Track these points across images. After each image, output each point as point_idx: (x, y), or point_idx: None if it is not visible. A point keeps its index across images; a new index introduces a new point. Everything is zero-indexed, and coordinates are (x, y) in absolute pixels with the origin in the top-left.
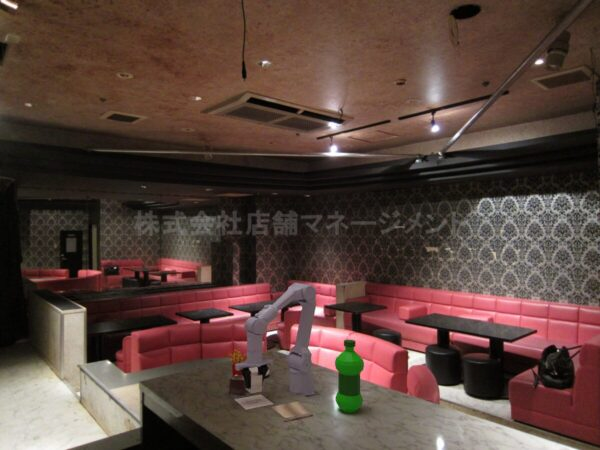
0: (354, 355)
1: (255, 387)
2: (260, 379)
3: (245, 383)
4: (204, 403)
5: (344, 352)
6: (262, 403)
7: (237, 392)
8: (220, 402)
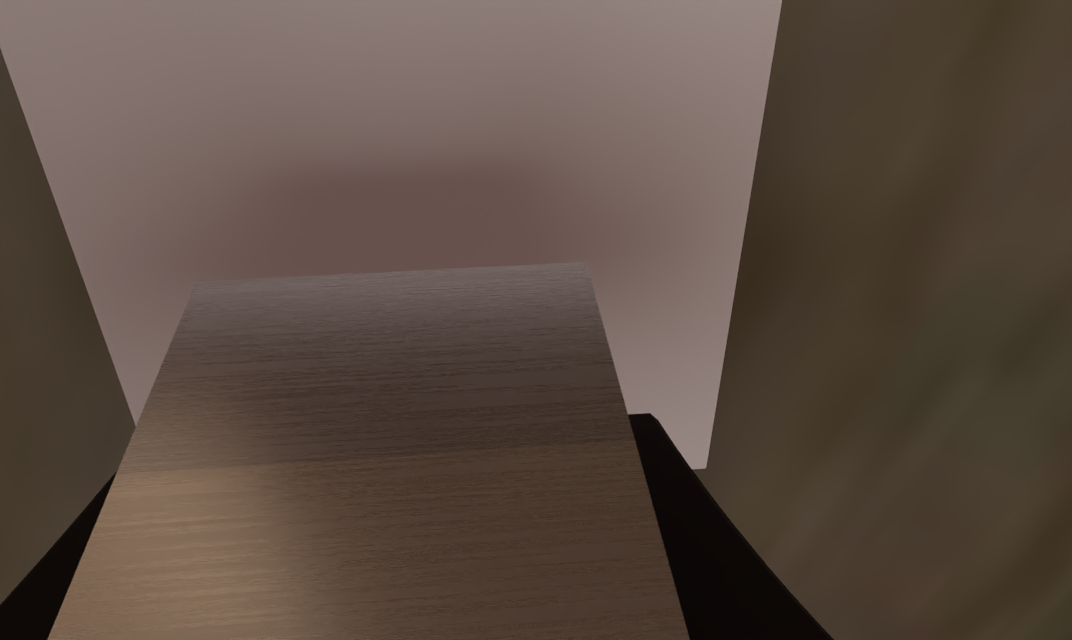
0: None
1: (434, 371)
2: (154, 618)
3: None
4: (1027, 542)
5: None
6: (256, 73)
7: None
8: (839, 509)
